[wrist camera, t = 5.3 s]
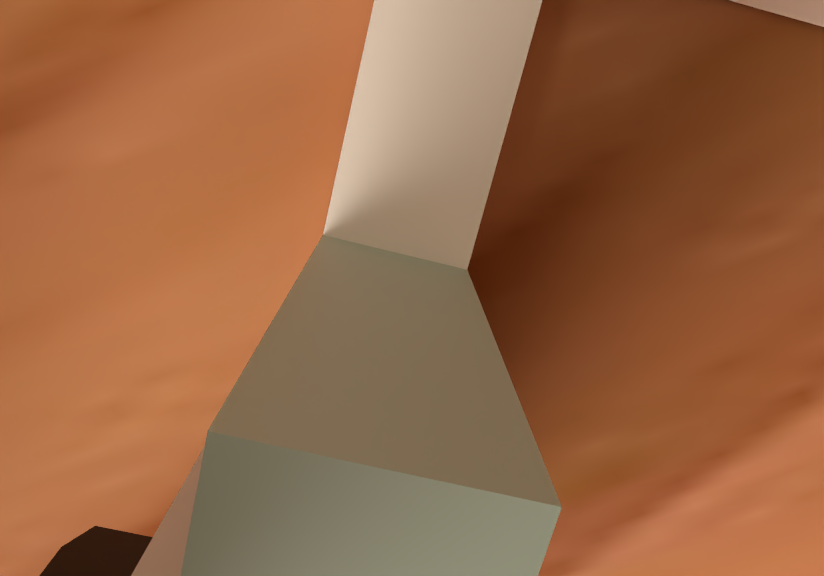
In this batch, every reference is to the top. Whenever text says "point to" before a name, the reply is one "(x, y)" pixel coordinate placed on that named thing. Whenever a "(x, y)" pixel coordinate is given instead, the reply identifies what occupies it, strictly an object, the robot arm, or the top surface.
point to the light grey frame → (393, 338)
